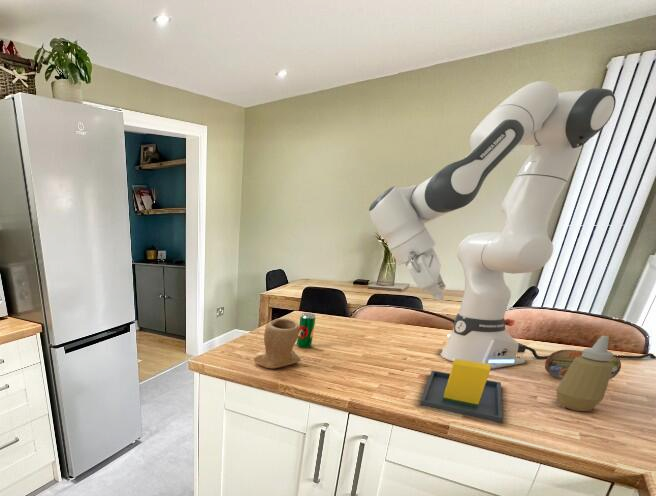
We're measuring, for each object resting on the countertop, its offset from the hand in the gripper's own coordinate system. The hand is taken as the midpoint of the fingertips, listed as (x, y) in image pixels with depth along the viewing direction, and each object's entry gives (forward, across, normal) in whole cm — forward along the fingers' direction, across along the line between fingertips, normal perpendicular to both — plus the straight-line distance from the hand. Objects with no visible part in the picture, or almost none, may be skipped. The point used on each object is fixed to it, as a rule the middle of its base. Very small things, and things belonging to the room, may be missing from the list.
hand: (441, 293), depth 103 cm
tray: (+26, -7, +7) cm, 28 cm away
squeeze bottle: (+40, 0, -10) cm, 41 cm away
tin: (+45, +24, -12) cm, 52 cm away
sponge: (+25, -12, +7) cm, 28 cm away
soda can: (0, +16, +46) cm, 48 cm away
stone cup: (-3, -8, +45) cm, 46 cm away
